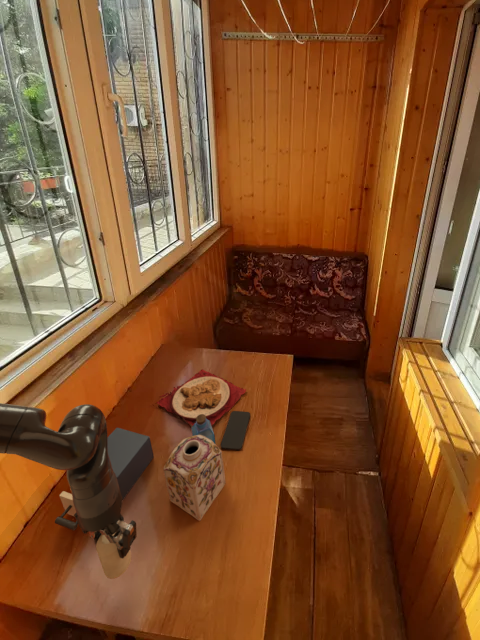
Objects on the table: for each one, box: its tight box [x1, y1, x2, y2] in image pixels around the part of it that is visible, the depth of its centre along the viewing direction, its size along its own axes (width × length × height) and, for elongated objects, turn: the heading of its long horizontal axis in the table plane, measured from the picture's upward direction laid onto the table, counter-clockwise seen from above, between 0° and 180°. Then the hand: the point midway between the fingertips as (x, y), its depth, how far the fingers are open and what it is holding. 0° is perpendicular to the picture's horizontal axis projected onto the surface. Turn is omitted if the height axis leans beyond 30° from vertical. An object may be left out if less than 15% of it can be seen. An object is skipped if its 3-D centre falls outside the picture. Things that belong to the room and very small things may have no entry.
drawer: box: [54, 490, 79, 532], centre depth 86 cm, size 17×11×7 cm
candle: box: [95, 532, 132, 580], centre depth 68 cm, size 6×6×10 cm
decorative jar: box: [162, 435, 226, 522], centre depth 87 cm, size 12×12×18 cm
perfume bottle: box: [191, 414, 217, 445], centre depth 103 cm, size 6×6×12 cm
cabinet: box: [107, 427, 155, 502], centre depth 95 cm, size 14×13×9 cm
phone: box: [220, 410, 251, 451], centre depth 110 cm, size 7×1×15 cm
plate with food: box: [156, 368, 247, 427], centre depth 123 cm, size 24×26×4 cm
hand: (113, 548), depth 68 cm, fingers closed on candle, 5 cm apart
